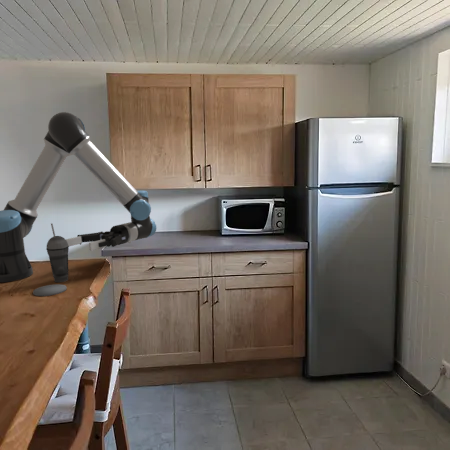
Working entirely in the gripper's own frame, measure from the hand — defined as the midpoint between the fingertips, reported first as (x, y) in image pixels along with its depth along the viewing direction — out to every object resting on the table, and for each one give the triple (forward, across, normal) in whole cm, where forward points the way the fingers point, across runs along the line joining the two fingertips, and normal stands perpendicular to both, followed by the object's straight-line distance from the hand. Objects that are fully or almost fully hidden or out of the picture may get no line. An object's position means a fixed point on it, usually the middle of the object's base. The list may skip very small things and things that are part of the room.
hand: (77, 245), depth 160 cm
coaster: (+17, -6, -11) cm, 21 cm away
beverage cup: (+8, 0, -11) cm, 13 cm away
